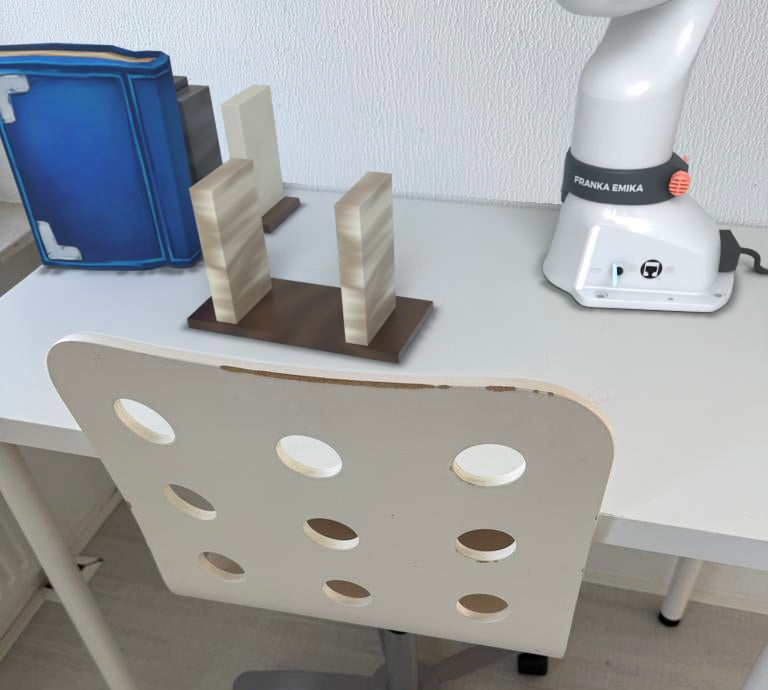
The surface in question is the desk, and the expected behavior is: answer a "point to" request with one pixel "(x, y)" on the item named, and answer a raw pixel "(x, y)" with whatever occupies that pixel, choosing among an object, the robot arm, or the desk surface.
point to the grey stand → (213, 144)
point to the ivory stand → (300, 299)
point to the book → (98, 155)
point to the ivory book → (255, 140)
